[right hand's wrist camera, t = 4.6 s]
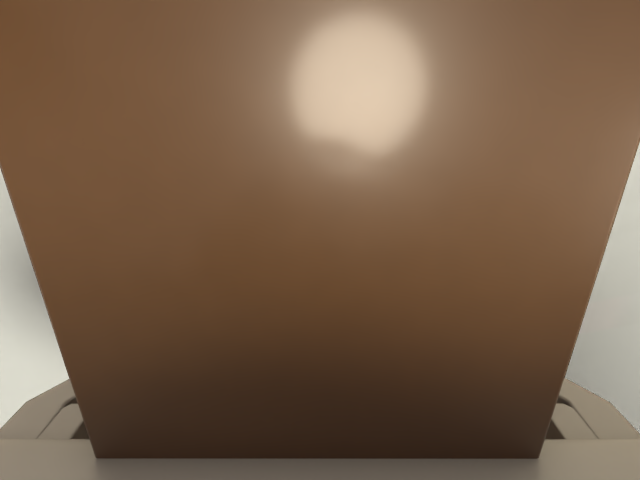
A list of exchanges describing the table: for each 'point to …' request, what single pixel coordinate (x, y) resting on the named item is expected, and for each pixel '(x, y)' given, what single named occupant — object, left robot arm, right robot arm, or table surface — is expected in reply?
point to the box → (317, 214)
